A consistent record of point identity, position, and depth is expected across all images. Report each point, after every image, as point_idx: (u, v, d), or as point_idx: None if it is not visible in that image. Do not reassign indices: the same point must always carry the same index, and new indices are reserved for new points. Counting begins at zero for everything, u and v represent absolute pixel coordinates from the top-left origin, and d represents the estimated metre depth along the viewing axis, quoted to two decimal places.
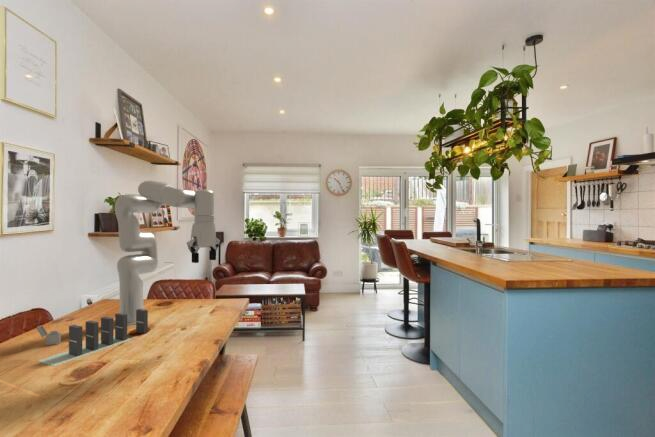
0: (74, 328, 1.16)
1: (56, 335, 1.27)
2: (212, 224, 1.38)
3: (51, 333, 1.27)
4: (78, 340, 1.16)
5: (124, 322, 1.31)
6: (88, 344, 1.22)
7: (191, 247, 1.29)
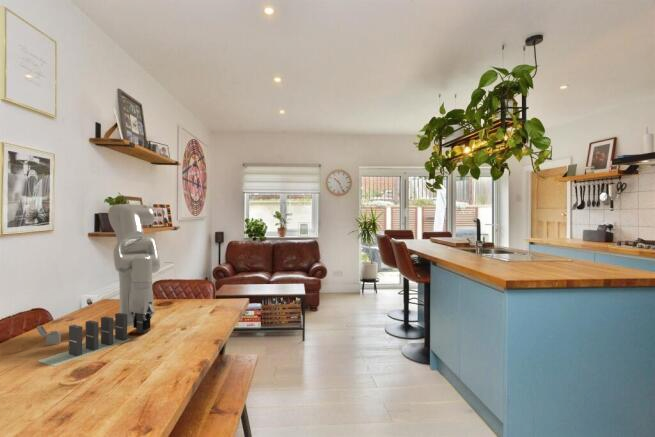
0: (74, 328, 1.16)
1: (56, 335, 1.27)
2: None
3: (51, 333, 1.27)
4: (78, 340, 1.16)
5: (124, 322, 1.31)
6: (88, 344, 1.22)
7: None
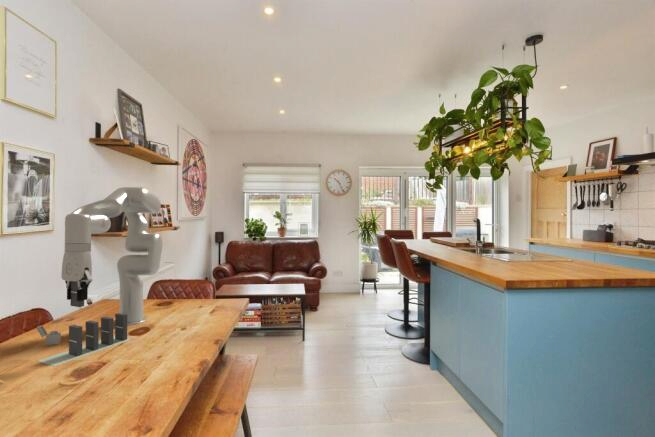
0: (74, 328, 1.16)
1: (56, 335, 1.27)
2: None
3: (51, 333, 1.27)
4: (78, 340, 1.16)
5: (124, 322, 1.31)
6: (88, 344, 1.22)
7: None
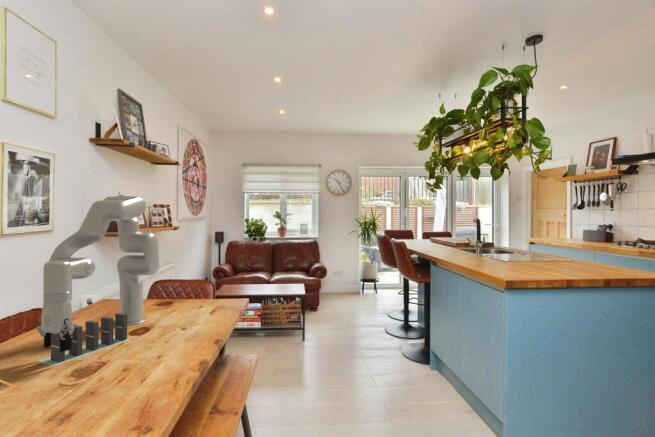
0: None
1: None
2: None
3: None
4: (78, 340, 1.16)
5: (124, 322, 1.31)
6: (88, 344, 1.22)
7: None
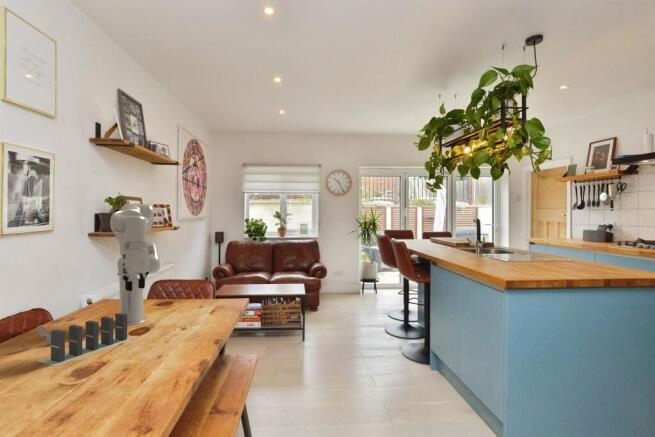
0: (74, 328, 1.16)
1: None
2: None
3: None
4: (78, 340, 1.16)
5: (124, 322, 1.31)
6: (88, 344, 1.22)
7: (146, 272, 1.43)
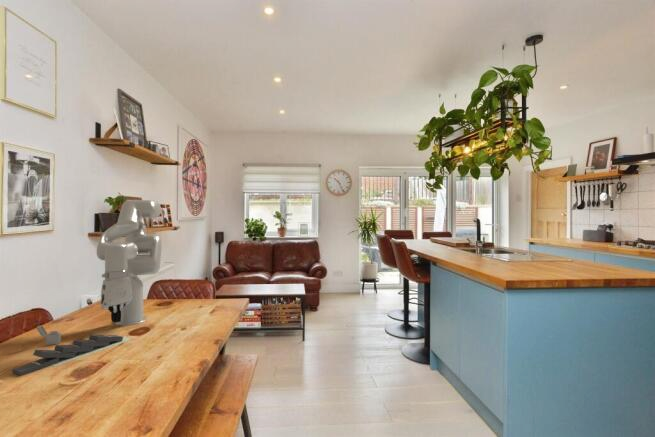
0: (40, 356, 1.07)
1: (56, 335, 1.27)
2: None
3: (51, 333, 1.27)
4: (57, 356, 1.10)
5: (104, 339, 1.24)
6: None
7: None
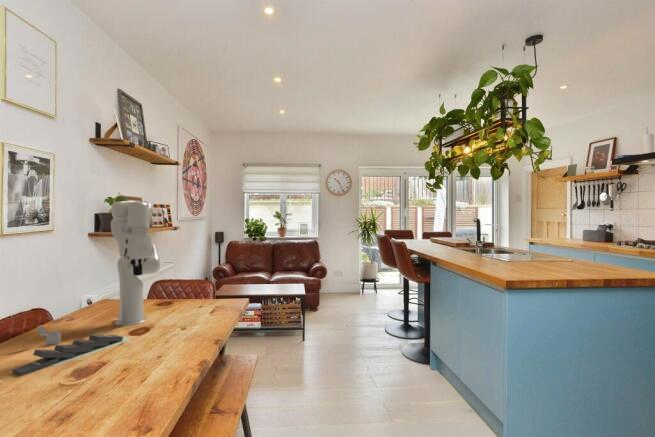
0: (40, 356, 1.07)
1: (56, 335, 1.27)
2: None
3: (51, 333, 1.27)
4: (57, 356, 1.10)
5: (104, 339, 1.24)
6: None
7: None
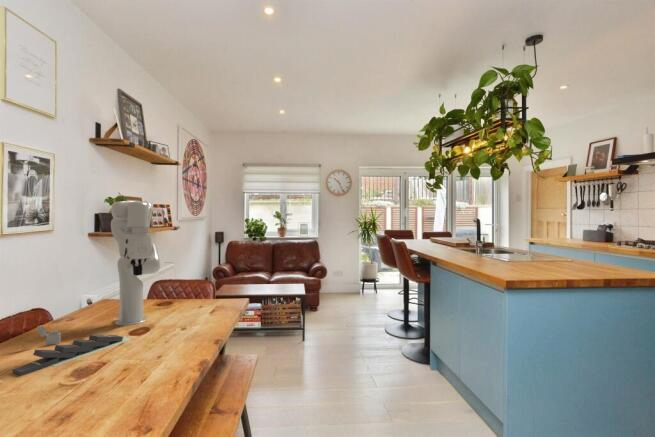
0: (40, 356, 1.07)
1: (56, 335, 1.27)
2: None
3: (51, 333, 1.27)
4: (57, 356, 1.10)
5: (104, 339, 1.24)
6: None
7: None
